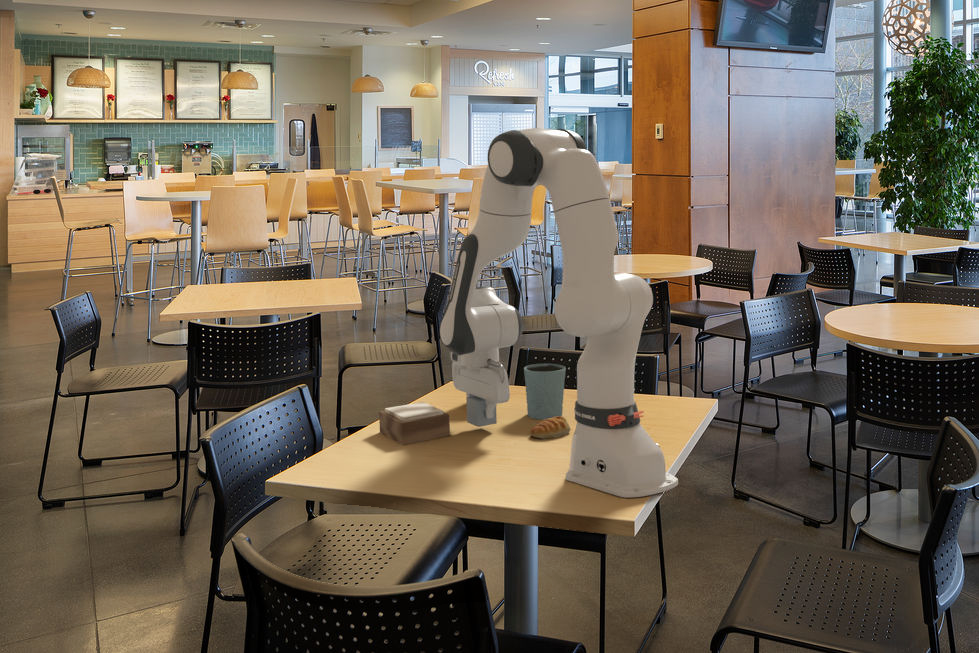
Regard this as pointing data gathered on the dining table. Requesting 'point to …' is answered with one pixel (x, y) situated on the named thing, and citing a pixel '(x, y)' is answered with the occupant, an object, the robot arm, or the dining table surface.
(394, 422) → the walnut block
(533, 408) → the teal cup
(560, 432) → the pastry
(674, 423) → the dining table surface
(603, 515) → the dining table surface
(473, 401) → the slate block
